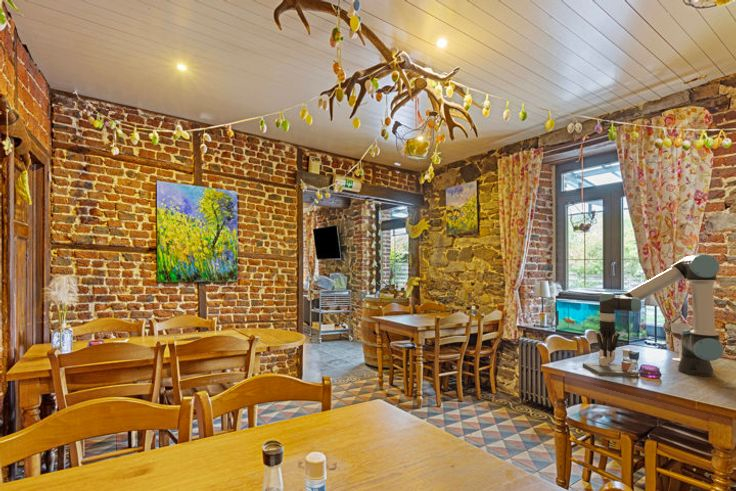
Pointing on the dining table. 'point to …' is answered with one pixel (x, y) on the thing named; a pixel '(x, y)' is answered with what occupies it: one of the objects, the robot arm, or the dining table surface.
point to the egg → (610, 357)
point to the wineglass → (678, 334)
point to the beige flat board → (607, 370)
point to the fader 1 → (603, 361)
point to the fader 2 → (625, 365)
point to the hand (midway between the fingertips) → (607, 362)
